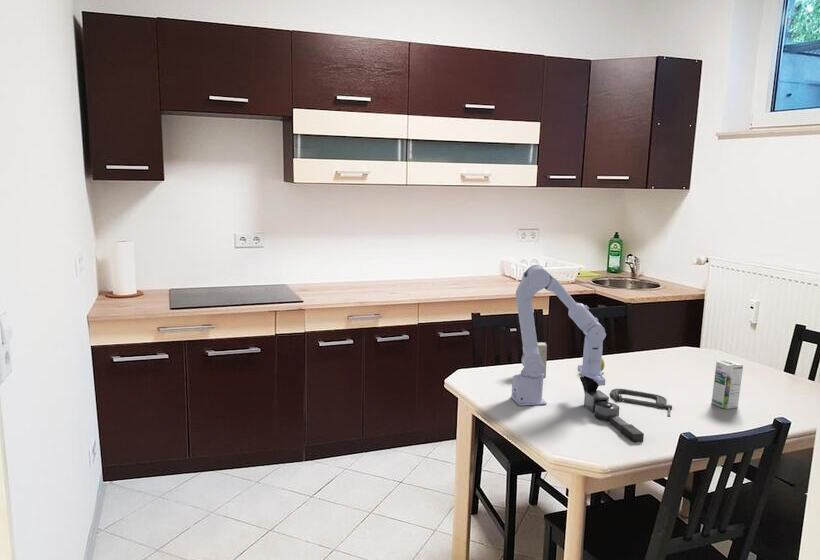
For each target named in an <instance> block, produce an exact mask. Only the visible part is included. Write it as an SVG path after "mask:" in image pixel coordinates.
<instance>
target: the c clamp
mask: <svg viewBox="0 0 820 560" xmlns="http://www.w3.org/2000/svg"><path fill="white" fill-rule="evenodd" d="M610 395H611V396H612V398H613V399H614V400H615V401H616V402H617V401H618V402H625V403H630V404H635V405H640V406H641V405H643V406H649V407H653V408H657V409H660V410H661V409H662V410H663V409H666V410H667V417H669V418H670V417H671V410H672V409H673V405H671V404H667V402H668V400H667V398H665V396H662V395H659V394H655V393H648V392H643V391H638V390H633V389H632V390H631V389H628V388H627V389H626V388H613V389H611V391H610ZM622 395H630V396H638V397H643V398H648V399H653V400H655V402H654V401H647V400H640V399H636V398H630V397H623V396H622Z"/></svg>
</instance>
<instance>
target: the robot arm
mask: <svg viewBox="0 0 820 560" xmlns="http://www.w3.org/2000/svg"><path fill="white" fill-rule="evenodd" d="M543 289H544V290H545V291H548V292H551V293H554V294H555V296H556V297H558V299H559V300H560V301H561V303H563V304H564V306H565V307H567V309H568V312H567V313H568V315H567V316H568V317H569V318H570V319H571V320H572V321H573V323H575V324H576V326H577V327H578V328H579V329H580V330H581V331H582V333H583V334H584V342H583V354H582V365H581V364H580V365H577V372H579V373H581V376H580V377H579V380H580V382H581V384H582V388H583V394H584V395H585V391H595V390H598V388H599V386H605V385H606V379H605V378H604V374H605V372H603V371H601V361H602V359H603V349H604V348H603V344H604V343H603V342H604V340H605V338H606V336H607V333H606V329H605V327H604V326H602V324H601V323H600V322H599V319H598V317H595V316H594V315H593V314H592V313H591V312H590V311H589V309H590V307H589V306H588V305H587V304H583V303H581V302H577V301H575V300H574V298H573V297H572V296H571V294H569V291H567V290H566V288H565V287H564V286H563V285H562V284H561V282H560V281H559V280H558V279H557V278H555V277H554V276H553V275H552V274H551V273H549V272H548V270H546V269H545V268H544V267H543V266H541V265H540V264H533V265H531V266H529V267H528V268H527V269H526V270H525V271H524V272H523V274H522V277H521V280H520V282H519V284H518V286H517V287H516V291H515V299H516V300H515V301H516V305H517V306H516V307H517V314H518V322H519V327H520V333H521V342H522V355H521V359H520V360H521V364H522V366H523V367H522V369H521V370H520V373H519V374H515V375H513V376H512V381H511V395H510V398H511V399H512V400H513V401H514V402H515V403H516V405H518V406H537V405H538V406H540V405H547V402H546V400H544V398H543V387H544V377H543V375H544V374H543V372H544V370H545V366H544V363H543V362H542V360H541V358H540V353H539V349H538V344H537V342H538V339H537V338H538V337H537V332H536V331H537V330H536V325H535V324H536V323H535V315H534V307H533V303H532V302H533V301H532V298H533V297H534V296H535V295H536V294H537V293H538V292H540V291H541V290H543Z"/></svg>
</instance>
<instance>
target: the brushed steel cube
mask: <svg viewBox="0 0 820 560" xmlns="http://www.w3.org/2000/svg"><path fill="white" fill-rule="evenodd" d="M596 400H604V401H605V402H609V400H610V399H609V396H608V395H607V394H605V393H604V392H603V391H602V390H598V389H597V390H595V391H585V394H584V399H583V407H585V408H586V409H587V410H588V411H589V410H590V411H589V412H590V413H592V414H595V404H596Z"/></svg>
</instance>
